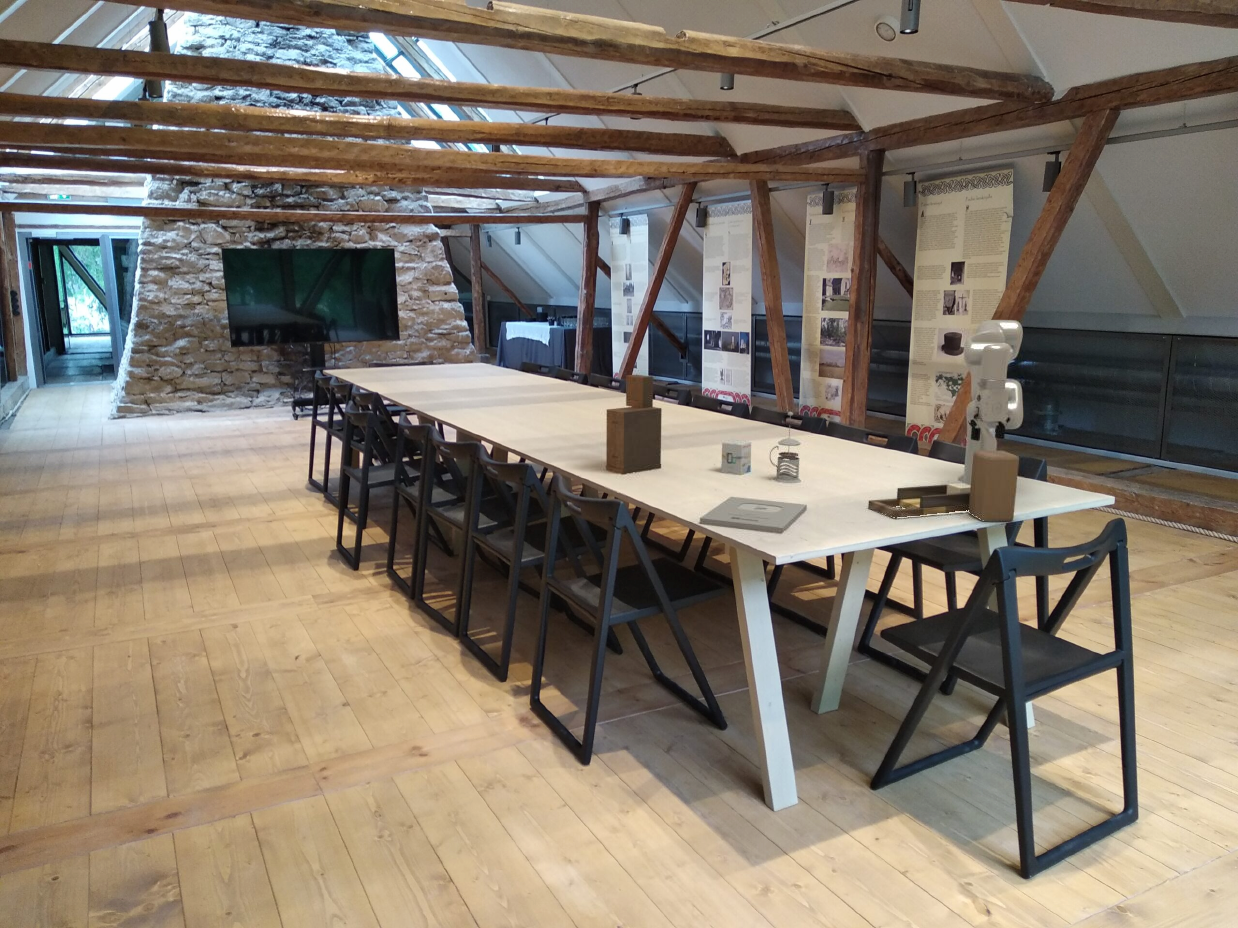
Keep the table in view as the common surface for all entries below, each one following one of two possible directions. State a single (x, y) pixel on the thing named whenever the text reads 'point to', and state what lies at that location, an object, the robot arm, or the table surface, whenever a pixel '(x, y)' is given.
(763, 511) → the award plaque
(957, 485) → the cream block
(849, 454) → the table surface
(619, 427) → the stacked wooden blocks
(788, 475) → the french press
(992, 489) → the block
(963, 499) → the tunnel deck
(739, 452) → the ink box
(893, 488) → the table surface
